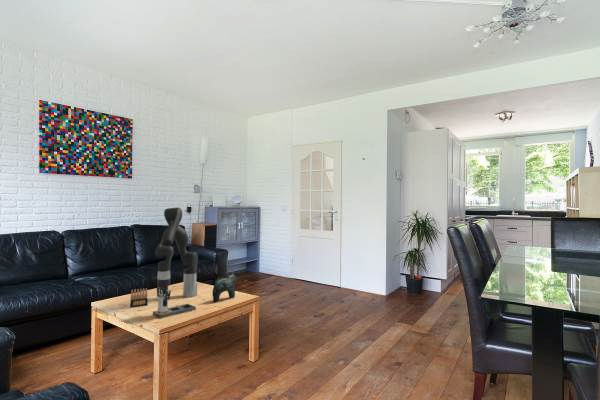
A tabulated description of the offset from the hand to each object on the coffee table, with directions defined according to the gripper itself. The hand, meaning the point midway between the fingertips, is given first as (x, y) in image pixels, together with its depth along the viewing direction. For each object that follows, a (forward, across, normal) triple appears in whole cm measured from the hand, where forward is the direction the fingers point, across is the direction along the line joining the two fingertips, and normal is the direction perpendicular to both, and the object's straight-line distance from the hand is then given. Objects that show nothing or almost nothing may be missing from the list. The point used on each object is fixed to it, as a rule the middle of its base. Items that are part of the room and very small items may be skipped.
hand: (163, 305), depth 208 cm
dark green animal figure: (+6, +1, -48) cm, 49 cm away
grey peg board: (+6, 0, -8) cm, 10 cm away
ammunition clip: (+6, +29, +2) cm, 30 cm away
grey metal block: (+4, 0, 0) cm, 4 cm away
